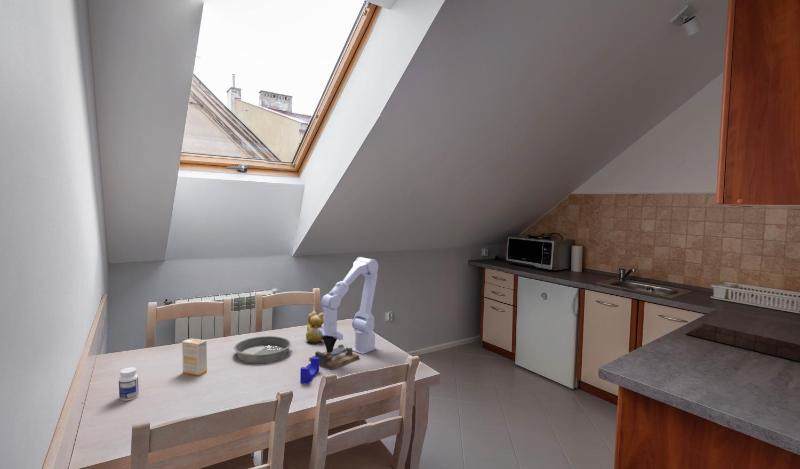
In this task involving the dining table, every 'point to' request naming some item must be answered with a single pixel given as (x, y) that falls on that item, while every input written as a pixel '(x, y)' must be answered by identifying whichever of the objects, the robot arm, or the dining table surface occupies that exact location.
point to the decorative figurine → (314, 327)
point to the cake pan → (264, 353)
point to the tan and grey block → (336, 351)
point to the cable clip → (309, 371)
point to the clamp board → (336, 358)
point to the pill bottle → (128, 384)
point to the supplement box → (194, 356)
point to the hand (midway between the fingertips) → (329, 352)
